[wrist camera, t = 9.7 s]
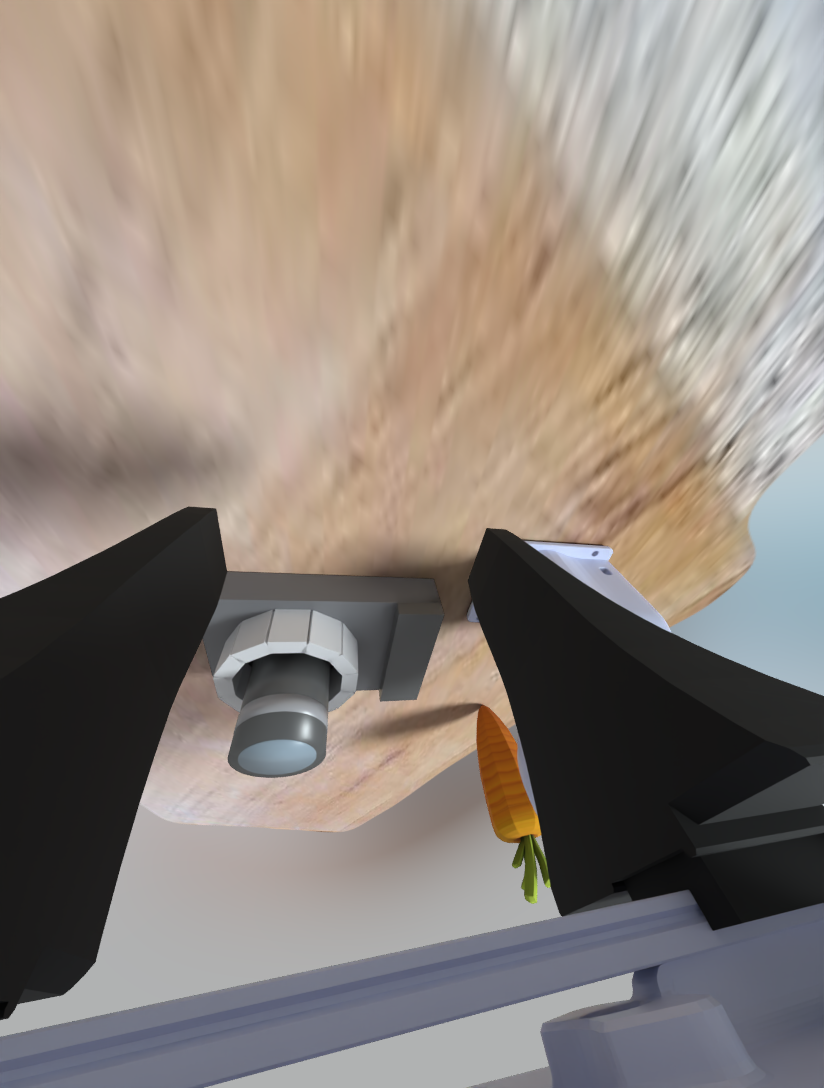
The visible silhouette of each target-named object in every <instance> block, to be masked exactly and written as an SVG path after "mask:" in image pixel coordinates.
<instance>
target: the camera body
mask: <svg viewBox="0 0 824 1088" xmlns="http://www.w3.org/2000/svg"><path fill="white" fill-rule="evenodd" d="M443 618H444V612H443V608H442V605H441V602H440V598H439V595H438V591H437V588H436V585H435V581H434V579H424V578H396V577H368V576H339V575H311V574H283V573H254V572H227V575H226V578H225V582H224V585H223V589H222V592H221V595H220V599H219V602H218V605H217V608H216V610H215V612H214V614H213V617H212V619H211V621H210V623H209V625H208V627H207V630H206V632H205V634H204V636H203V641H204V645H205V649H206V653H207V657H208V660H209V664H210V668H211V672H212V676H213V680H214V684H215V687H216V691H217V695H218V698H219V697H220V698H219V699H220V700H222V701H223V702H225V703H226V704H227V705H229V706H230V707H232V708H233V709H235V710H236V711H238V712H240V710H241V706H242V702H243V698H244V695H245V691H246V687H247V683H248V680H249V676H250V672H251V668H252V664H253V661H254V660H255V659H258V658H261V657H263V656H266V655H269V654H272V653H305V654H308V655H311V656H314V657H317V658H320V659H323V660H326V661H329V662H330V663H331V665H330V684H329V702H328V712H330V711H333V710H336V708H337V709H338V708H339V707H340V706H341V705H342V704H343V703H345V702H346V701H347V700H348V699H349V698H350V697H351V696H352V695H354V694H355V692H356V691H359V690H379V696H380V701H399V700H417V697H418V694H419V690H420V687H421V684H422V681H423V678H424V675H425V672H426V669H427V666H428V663H429V660H430V657H431V654H432V651H433V648H434V645H435V642H436V639H437V636H438V633H439V630H440V627H441V624H442V621H443Z"/></svg>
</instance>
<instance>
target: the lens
mask: <svg viewBox="0 0 824 1088" xmlns="http://www.w3.org/2000/svg"><path fill="white" fill-rule="evenodd" d="M330 665H331V663H330V662H329V661H326V660H323V659H320V658H317V657H314V656H311V655H308V654H305V653H272V654H269V655H266V656H263V657H261V658H258V659H255V660H254V661H253V664H252V668H251V672H250V676H249V680H248V683H247V687H246V691H245V695H244V698H243V702H242V706H241V710H240V712H239V716H238V719H237V723H236V727H235V731H234V736H233V740H232V743H231V747H230V751H229V755H228V763H229V764H230V766H231V767H232V768H233V769H235V770H236V771H238V772H240V773H243V774H246V775H250V776H255V777H265V778H275V777H286V776H292V775H297V774H300V773H303V772H306V771H309V770H311V769H313V768H315V767H316V766H318V765H319V764H320V763H321V762H322V761H323V760H324V758H325V756H326V740H327V727H328V702H329V684H330Z"/></svg>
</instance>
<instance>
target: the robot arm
mask: <svg viewBox="0 0 824 1088" xmlns="http://www.w3.org/2000/svg"><path fill="white" fill-rule="evenodd" d="M612 553H613V550H612V549H611V548H610V547H608V546H596V545H581V544H565V543H550V542H535V541H523V540H522V539H520V538H519V537H517V536H516V535H514V534H513V533H511V532H509V531H507V530H504V529H490V528H486V531H485V534H484V537H483V540H482V543H481V545H480V548H479V551H478V554H477V557H476V559H475V562H474V565H473V568H472V571H471V573H470V576H469V579H468V584H469V588H470V593H471V597H472V603H471V605H470V608H469V611H468V613H467V619H468V621H469V622H480V625H481V628H482V630H483V633H484V635H485V638H486V640H487V643H488V645H489V648H490V650H491V653H492V655H493V657H494V660H495V662H496V665H497V667H498V670H499V672H500V675H501V677H502V680H503V683H504V686H505V689H506V692H507V695H508V698H509V702H510V705H511V709H512V712H513V716H514V719H515V723H516V726H517V730H518V734H519V735H518V743H517V746H518V750H517V760H518V766H519V771H520V775H521V778H522V782H523V785H524V787H525V790H526V793H527V795H528V797H529V800H530V802H531V804H532V806H533V808H534V810H535V812H536V814H537V816H538V820H539V825H540V830H541V836H542V841H543V846H544V851H545V857H546V862H547V868H548V874H549V880H550V886H551V889H552V892H553V895H554V898H555V901H556V904H557V907H558V910H559V913H560V914H561V916H562V917H558V918H554V919H549V920H544V921H540V922H535V923H530V924H526V925H521V926H516V927H512V928H507V929H502V930H498V931H493V932H488V933H484V934H479V935H474V936H470V937H465V938H460V939H456V940H451V941H446V942H442V943H437V944H433V945H428V946H423V947H419V948H414V949H409V950H404V951H400V952H395V953H390V954H386V955H381V956H376V957H372V958H367V959H362V960H358V961H353V962H348V963H343V964H339V965H334V966H329V967H325V968H321V969H316V970H311V971H307V972H302V973H297V974H292V975H288V976H283V977H278V978H273V979H269V980H264V981H259V982H255V983H250V984H245V985H241V986H236V987H231V988H227V989H222V990H218V991H213V992H208V993H203V994H199V995H194V996H189V997H185V998H180V999H176V1000H171V1001H166V1002H161V1003H157V1004H152V1005H148V1006H143V1007H138V1008H133V1009H129V1010H124V1011H119V1012H115V1013H110V1014H106V1015H101V1016H96V1017H92V1018H87V1019H83V1020H78V1021H72V1022H68V1023H64V1024H59V1025H54V1026H49V1027H44V1028H40V1029H35V1030H31V1031H26V1032H21V1033H16V1034H12V1035H7V1036H3V1037H0V1088H204V1087H208V1086H212V1085H215V1084H219V1083H223V1082H227V1081H230V1080H233V1079H238V1078H241V1077H245V1076H248V1075H252V1074H256V1073H259V1072H264V1071H267V1070H271V1069H275V1068H278V1067H282V1066H286V1065H289V1064H293V1063H297V1062H301V1061H304V1060H307V1059H312V1058H315V1057H319V1056H323V1055H327V1054H330V1053H334V1052H337V1051H341V1050H345V1049H349V1048H352V1047H356V1046H360V1045H363V1044H367V1043H371V1042H375V1041H379V1040H382V1039H386V1038H390V1037H393V1036H397V1035H401V1034H405V1033H408V1032H412V1031H416V1030H419V1029H423V1028H427V1027H431V1026H434V1025H438V1024H441V1023H445V1022H449V1021H453V1020H456V1019H460V1018H464V1017H467V1016H471V1015H475V1014H479V1013H482V1012H486V1011H490V1010H494V1009H497V1008H501V1007H504V1006H508V1005H512V1004H516V1003H519V1002H523V1001H527V1000H531V999H534V998H538V997H541V996H545V995H549V994H553V993H556V992H560V991H564V990H568V989H571V988H575V987H579V986H583V985H586V984H590V983H594V982H597V981H601V980H605V979H609V978H612V977H616V976H620V975H623V974H627V973H631V972H634V971H635V972H634V975H633V979H632V986H633V996H632V997H631V999H630V1000H626V1001H619V1002H613V1003H606V1004H600V1005H595V1006H591V1007H587V1008H583V1009H579V1010H576V1011H572V1012H570V1013H567V1014H565V1015H562V1016H560V1017H557V1018H555V1019H552V1020H550V1021H547V1022H545V1023H543V1024H542V1028H541V1036H542V1040H543V1044H544V1048H545V1052H546V1055H547V1059H548V1063H549V1066H548V1067H545V1068H541V1069H537V1070H533V1071H529V1072H525V1073H521V1074H517V1075H513V1076H510V1077H506V1078H502V1079H498V1080H494V1081H490V1082H487V1083H482V1084H479V1085H475V1086H471V1087H467V1088H824V806H823V805H822V804H824V696H822V695H819V694H816V693H814V692H811V691H808V690H806V689H803V688H800V687H797V686H795V685H792V684H789V683H787V682H784V681H781V680H778V679H775V678H773V677H770V676H768V675H765V674H763V673H760V672H758V671H756V670H753V669H751V668H748V667H746V666H744V665H741V664H739V663H736V662H734V661H732V660H729V659H727V658H724V657H722V656H720V655H717V654H715V653H713V652H711V651H709V650H706V649H704V648H702V647H700V646H697V645H695V644H693V643H691V642H689V641H687V640H685V639H683V638H681V637H679V636H677V635H675V634H673V633H671V631H670V629H669V627H668V624H667V623H666V621H665V620H664V618H663V617H662V616H661V615H660V614H659V612H658V611H657V610H656V609H655V608H654V607H653V606H652V605H651V604H650V603H649V602H648V601H647V600H646V599H645V598H644V597H643V596H642V595H641V594H640V593H639V592H638V591H637V590H636V589H635V588H634V587H633V586H632V585H631V584H630V583H629V582H628V581H627V580H626V579H625V578H624V577H623V576H622V575H621V574H620V573H619V572H618V571H617V570H616V569H615V568H614V566H613V565H612V564H611V563H610V562H609V561H608V560H609V558H610V557H611V555H612ZM226 575H227V569H226V563H225V557H224V552H223V546H222V540H221V534H220V528H219V523H218V517H217V511H216V509H214V508H200V507H187V508H184V509H182V510H180V511H178V512H176V513H174V514H172V515H170V516H168V517H166V518H164V519H162V520H161V521H159V522H157V523H155V524H153V525H151V526H149V527H148V528H146V529H144V530H142V531H140V532H138V533H136V534H135V535H133V536H131V537H129V538H127V539H125V540H123V541H121V542H120V543H118V544H116V545H114V546H112V547H110V548H108V549H106V550H104V551H102V552H100V553H98V554H96V555H94V556H92V557H90V558H88V559H86V560H84V561H82V562H80V563H78V564H76V565H74V566H72V567H70V568H67V569H65V570H63V571H61V572H59V573H57V574H55V575H53V576H51V577H49V578H47V579H44V580H42V581H40V582H38V583H35V584H33V585H31V586H29V587H26V588H24V589H22V590H19V591H17V592H15V593H12V594H10V595H7V596H5V597H2V598H0V1020H3V1019H7V1018H9V1017H10V1015H11V1014H12V1013H13V1011H14V1010H15V1008H16V1006H17V1004H20V1003H25V1002H30V1001H36V1000H41V999H45V998H50V997H55V996H61V995H64V994H65V993H66V992H67V991H68V990H70V989H71V988H72V987H73V986H74V985H75V984H76V983H77V982H78V981H79V980H80V979H81V978H82V977H83V976H84V975H85V974H86V973H87V972H88V970H89V969H90V968H91V967H92V965H93V964H94V963H95V962H96V958H97V954H98V950H99V946H100V942H101V938H102V934H103V930H104V926H105V923H106V919H107V915H108V912H109V908H110V904H111V901H112V896H113V893H114V889H115V886H116V882H117V878H118V874H119V871H120V867H121V864H122V860H123V857H124V853H125V850H126V846H127V843H128V840H129V837H130V833H131V830H132V826H133V823H134V820H135V816H136V812H137V809H138V806H139V803H140V800H141V796H142V793H143V790H144V787H145V784H146V781H147V778H148V775H149V772H150V768H151V765H152V762H153V759H154V756H155V753H156V750H157V747H158V744H159V741H160V738H161V735H162V733H163V730H164V727H165V724H166V721H167V718H168V715H169V712H170V709H171V707H172V704H173V702H174V699H175V697H176V695H177V692H178V690H179V687H180V685H181V683H182V681H183V679H184V677H185V675H186V672H187V670H188V668H189V666H190V664H191V662H192V660H193V658H194V655H195V653H196V651H197V649H198V647H199V645H200V643H201V640H202V638H203V636H204V634H205V632H206V630H207V627H208V625H209V623H210V621H211V619H212V617H213V614H214V612H215V610H216V608H217V605H218V602H219V599H220V595H221V592H222V589H223V585H224V582H225V578H226Z"/></svg>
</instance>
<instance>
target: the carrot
mask: <svg viewBox="0 0 824 1088" xmlns="http://www.w3.org/2000/svg"><path fill="white" fill-rule="evenodd" d="M517 750H518V746H517V743H516V742H515V740H514V738H513V737H512V735H511V733H510V731H509V730H508V728H507V727H506V726H505V725H504V723H503V722H502V721H501V720H500V718H499V717H498V716H497V715H496V714H495V713H494V712H493V711H492V710H491V709H490V708H488V707H486V706H484V705H481V707H480V709H479V712H478V718H477V751H478V760H479V768H480V776H481V780H482V785H483V789H484V794H485V798H486V803H487V807H488V811H489V815H490V818H491V822H492V826H493V829H494V832H495V834H496V836H497V837H498V838H499V839H501V840H502V841H504V842H507V843H520V844H519V846H518V849H517V852H516V854H515V857H514V860H513V863H512V866H513V867H514V868H518V867H519V866H521V864H522V861H523V857H524V860H525V874H524V879H523V882H522V886H521V888H522V889H523V890H524V896H525V899H526V900H527V901H528V902H530V903H532V904H533V903H537V868H536V861H535V856H536V858H537V860H538V863H539V865H540V869H541V873H542V877H543V881H544V884H545V886H546V887H547V888H549V887H551V886H550V880H549V874H548V868H547V862H546V858H545V856H544V854H543V852H542V851H541V849H540V847H539V845H538V843H537V841H536V839H535V838H536V837H538V836H540V835H541V830H540V825H539V820H538V816H537V814H536V812H535V810H534V808H533V806H532V804H531V802H530V800H529V797H528V795H527V793H526V790H525V787H524V785H523V782H522V778H521V775H520V771H519V766H518V760H517ZM534 854H535V855H534Z"/></svg>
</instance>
